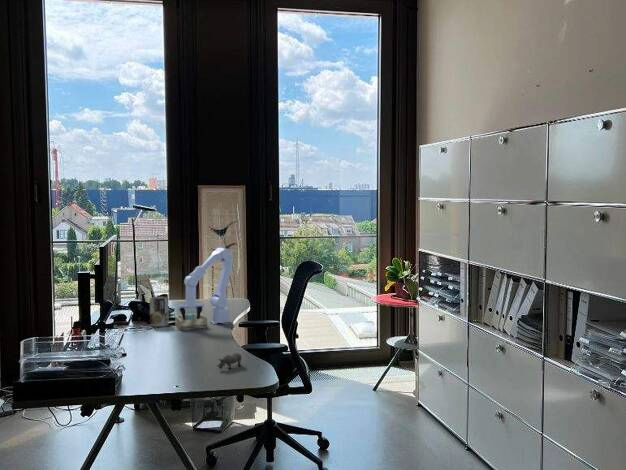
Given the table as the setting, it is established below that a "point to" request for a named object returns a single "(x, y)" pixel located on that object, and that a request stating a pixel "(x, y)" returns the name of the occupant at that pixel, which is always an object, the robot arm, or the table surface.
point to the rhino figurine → (230, 360)
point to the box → (190, 322)
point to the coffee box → (159, 311)
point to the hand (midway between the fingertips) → (191, 320)
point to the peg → (190, 316)
